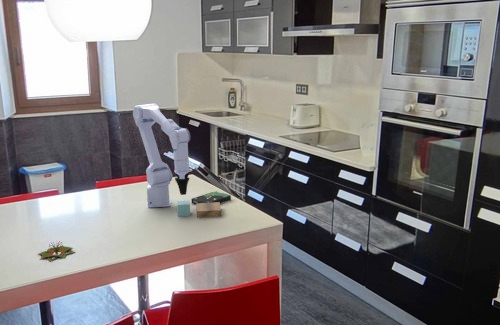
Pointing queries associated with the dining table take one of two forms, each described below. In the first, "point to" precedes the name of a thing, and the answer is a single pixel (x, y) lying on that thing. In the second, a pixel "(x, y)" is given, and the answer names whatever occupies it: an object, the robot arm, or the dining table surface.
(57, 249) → the lily flower
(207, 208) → the brown block
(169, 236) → the dining table surface
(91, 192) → the dining table surface
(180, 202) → the teal cube
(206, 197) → the disk drive
